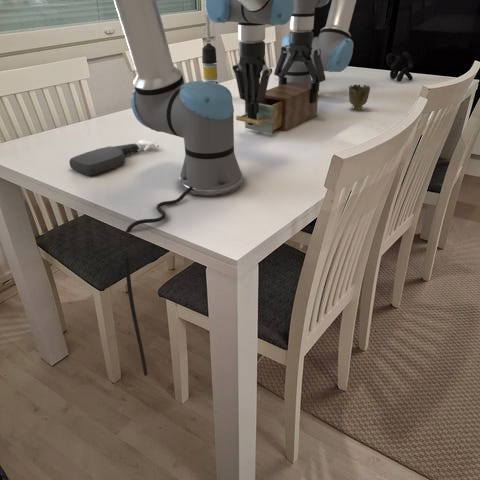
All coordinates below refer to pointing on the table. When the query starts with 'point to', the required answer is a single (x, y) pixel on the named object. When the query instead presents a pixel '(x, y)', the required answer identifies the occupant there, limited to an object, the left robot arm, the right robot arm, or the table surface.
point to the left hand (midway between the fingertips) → (252, 123)
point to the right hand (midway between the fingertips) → (297, 99)
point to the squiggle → (399, 66)
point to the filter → (209, 58)
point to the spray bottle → (106, 157)
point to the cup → (358, 96)
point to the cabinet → (294, 103)
